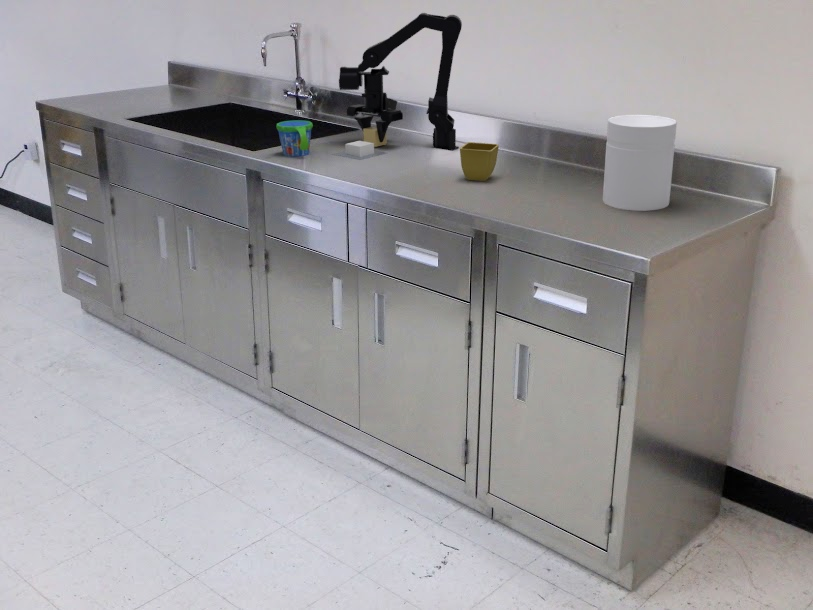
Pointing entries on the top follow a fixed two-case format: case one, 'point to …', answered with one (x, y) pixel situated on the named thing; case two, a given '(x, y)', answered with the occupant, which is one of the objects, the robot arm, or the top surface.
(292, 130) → the snack cup
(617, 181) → the canister
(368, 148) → the white brick
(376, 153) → the baseplate
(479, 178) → the flower pot
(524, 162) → the top surface
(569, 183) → the top surface
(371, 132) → the ochre brick
